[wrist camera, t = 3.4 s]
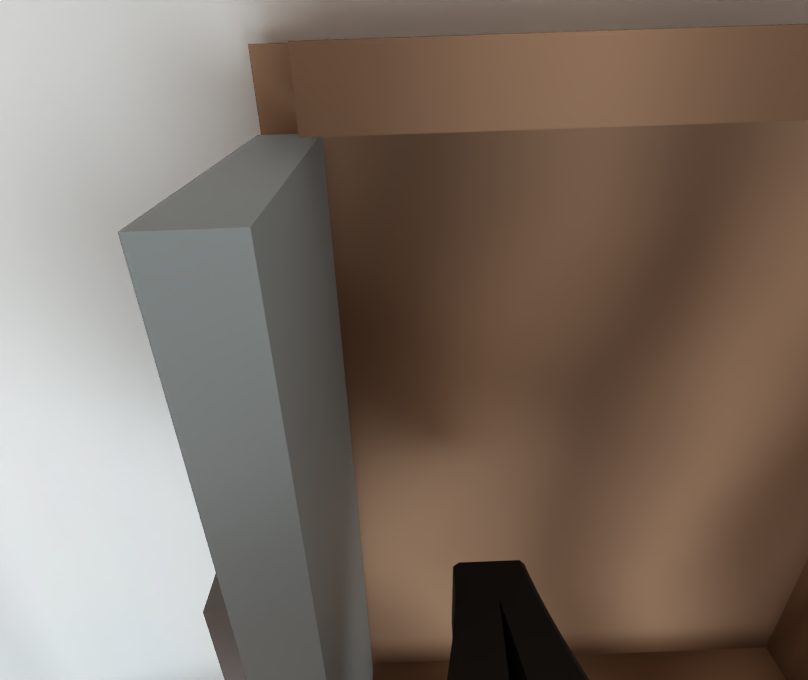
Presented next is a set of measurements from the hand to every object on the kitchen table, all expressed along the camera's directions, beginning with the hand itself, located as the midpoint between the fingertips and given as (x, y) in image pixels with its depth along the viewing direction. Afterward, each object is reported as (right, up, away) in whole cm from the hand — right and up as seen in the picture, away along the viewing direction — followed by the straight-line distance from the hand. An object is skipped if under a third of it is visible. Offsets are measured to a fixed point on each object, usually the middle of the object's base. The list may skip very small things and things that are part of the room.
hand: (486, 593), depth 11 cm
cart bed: (+4, +3, +5) cm, 7 cm away
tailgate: (-4, +2, +3) cm, 6 cm away
